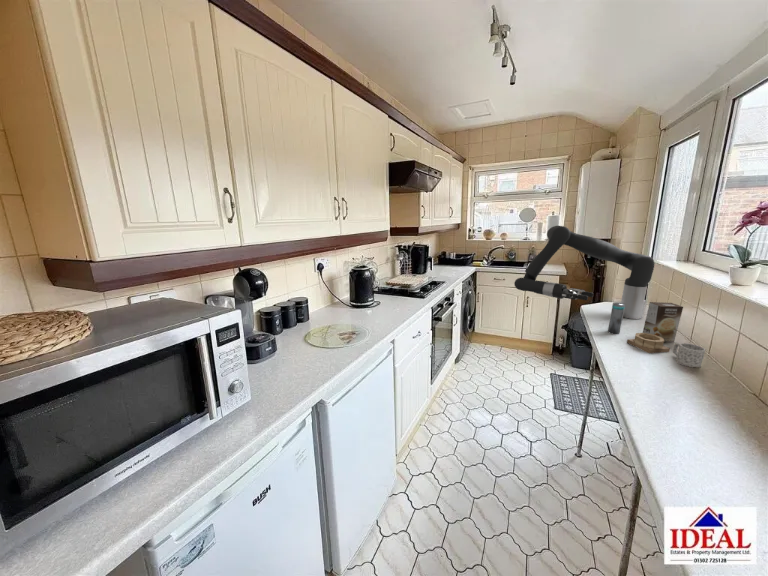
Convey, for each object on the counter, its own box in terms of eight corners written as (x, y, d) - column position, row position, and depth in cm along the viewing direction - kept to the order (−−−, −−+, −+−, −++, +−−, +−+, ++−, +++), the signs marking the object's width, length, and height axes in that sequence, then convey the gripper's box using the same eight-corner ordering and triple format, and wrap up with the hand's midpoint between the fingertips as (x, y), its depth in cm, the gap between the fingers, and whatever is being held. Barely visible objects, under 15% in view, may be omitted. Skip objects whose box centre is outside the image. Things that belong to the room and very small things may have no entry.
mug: (706, 367, 108) (710, 351, 106) (686, 367, 108) (691, 350, 107) (681, 355, 118) (685, 339, 116) (663, 354, 118) (667, 339, 116)
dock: (645, 341, 130) (647, 331, 129) (669, 351, 120) (671, 341, 119) (626, 342, 129) (628, 333, 128) (649, 353, 119) (651, 342, 118)
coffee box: (652, 341, 130) (660, 306, 126) (641, 335, 136) (648, 301, 132) (675, 342, 129) (683, 306, 125) (663, 335, 135) (671, 302, 131)
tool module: (613, 330, 142) (619, 302, 139) (622, 333, 138) (627, 305, 135) (605, 330, 142) (610, 302, 138) (613, 334, 138) (618, 305, 134)
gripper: (550, 285, 151) (587, 291, 139) (560, 281, 160) (596, 286, 148) (547, 299, 153) (584, 307, 141) (558, 294, 162) (593, 301, 150)
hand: (590, 296), depth 144 cm, fingers open, 8 cm apart
